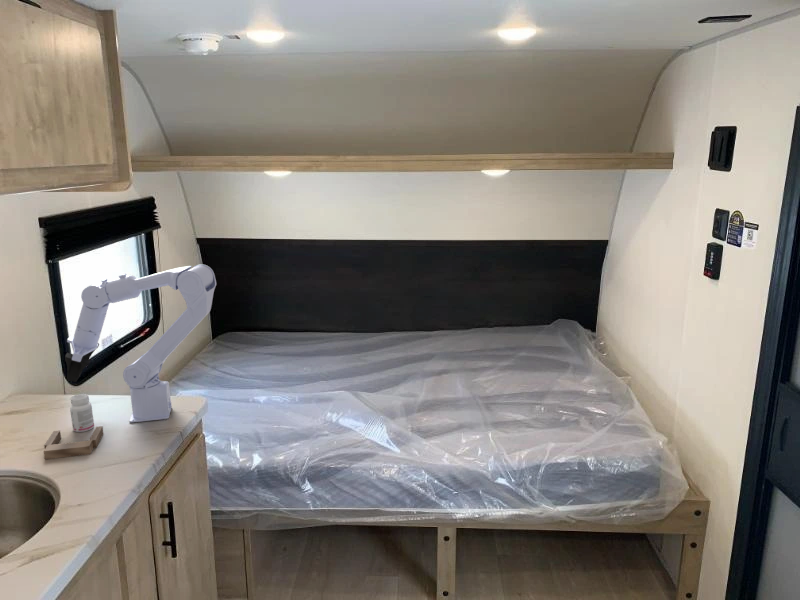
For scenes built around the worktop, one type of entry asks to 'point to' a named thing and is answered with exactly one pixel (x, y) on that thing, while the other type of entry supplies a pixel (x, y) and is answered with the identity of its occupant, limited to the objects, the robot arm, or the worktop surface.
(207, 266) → the robot arm
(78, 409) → the pill bottle
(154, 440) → the worktop surface
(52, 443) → the notched board
